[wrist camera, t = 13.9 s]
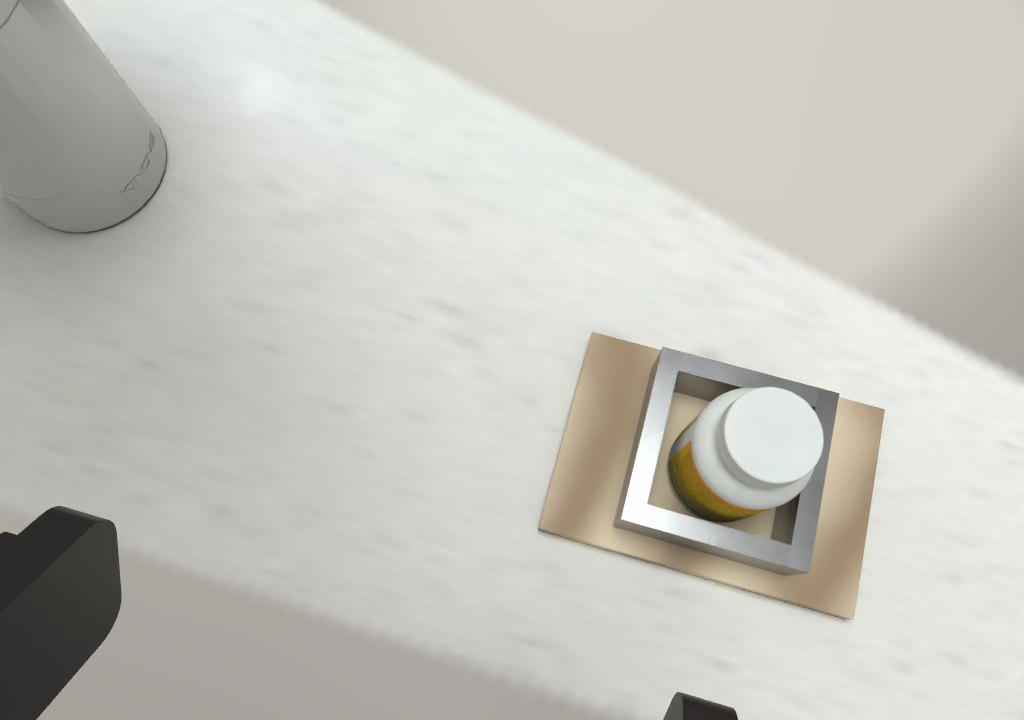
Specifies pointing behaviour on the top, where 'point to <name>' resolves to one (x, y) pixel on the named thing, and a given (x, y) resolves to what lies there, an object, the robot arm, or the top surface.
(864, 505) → the birch board
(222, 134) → the top surface
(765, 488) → the supplement bottle
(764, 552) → the metal sleeve
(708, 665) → the top surface
